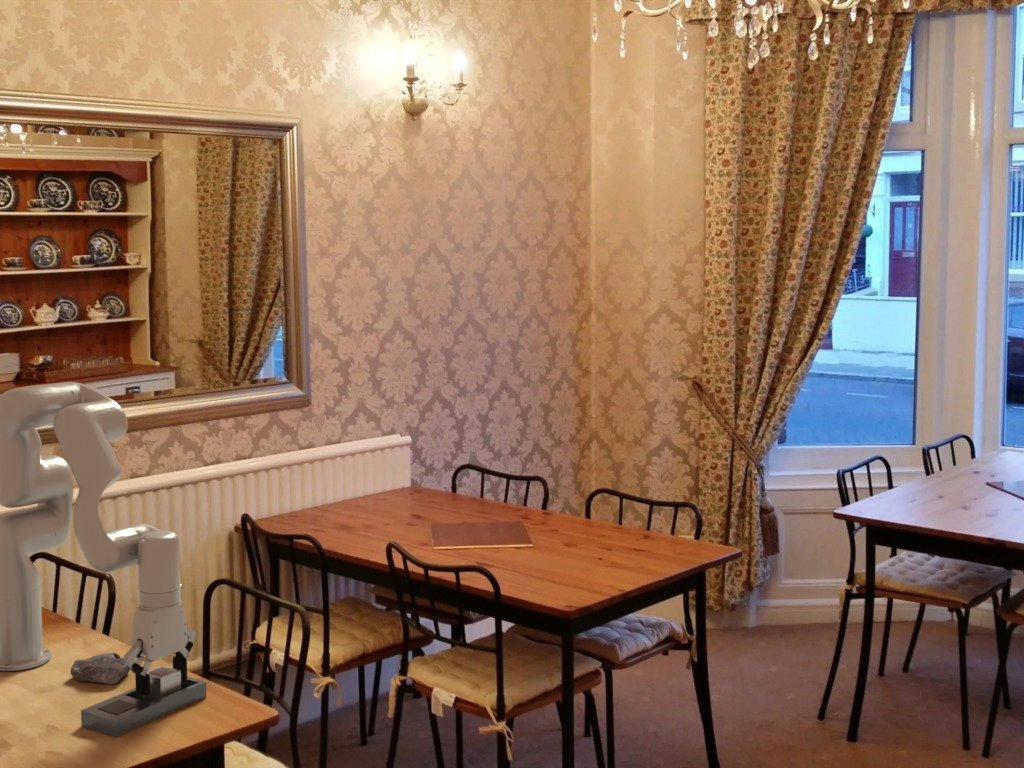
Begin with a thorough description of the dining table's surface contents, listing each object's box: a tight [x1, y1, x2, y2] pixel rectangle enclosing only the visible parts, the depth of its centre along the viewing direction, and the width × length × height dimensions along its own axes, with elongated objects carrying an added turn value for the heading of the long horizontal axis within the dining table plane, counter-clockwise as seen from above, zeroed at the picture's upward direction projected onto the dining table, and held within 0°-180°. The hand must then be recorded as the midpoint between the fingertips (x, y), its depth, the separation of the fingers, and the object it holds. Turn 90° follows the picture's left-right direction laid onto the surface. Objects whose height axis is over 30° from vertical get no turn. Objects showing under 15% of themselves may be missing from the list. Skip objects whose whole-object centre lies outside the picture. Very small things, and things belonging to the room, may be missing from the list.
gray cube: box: [142, 665, 181, 703], centre depth 222 cm, size 5×5×6 cm
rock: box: [70, 652, 131, 685], centre depth 235 cm, size 8×11×5 cm
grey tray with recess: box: [80, 676, 207, 738], centre depth 219 cm, size 9×22×3 cm, turn 150°
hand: (161, 685), depth 222 cm, fingers open, 8 cm apart
